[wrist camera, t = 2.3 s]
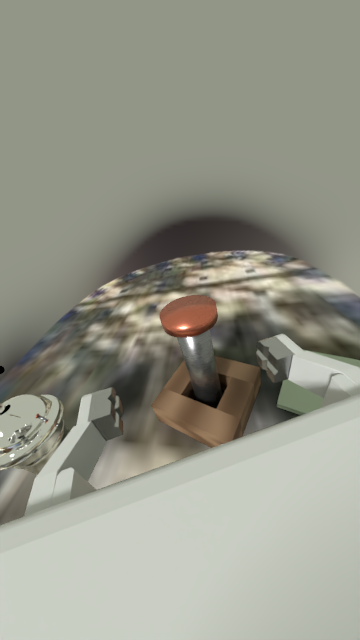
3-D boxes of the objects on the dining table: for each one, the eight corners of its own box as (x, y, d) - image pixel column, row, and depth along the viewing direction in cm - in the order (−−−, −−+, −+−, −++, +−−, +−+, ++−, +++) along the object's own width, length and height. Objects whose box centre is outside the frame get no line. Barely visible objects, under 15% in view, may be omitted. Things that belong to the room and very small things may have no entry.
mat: (383, 368, 30) (384, 364, 30) (394, 447, 23) (396, 443, 22) (291, 350, 37) (292, 347, 37) (276, 407, 30) (276, 403, 29)
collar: (260, 384, 33) (260, 367, 31) (234, 459, 25) (230, 443, 23) (195, 365, 40) (191, 349, 38) (158, 420, 32) (151, 405, 30)
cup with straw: (79, 425, 35) (-6, 332, 24) (112, 454, 29) (22, 352, 19) (29, 477, 30) (-110, 388, 19) (57, 523, 24) (-112, 438, 13)
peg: (237, 392, 33) (225, 297, 23) (221, 429, 29) (199, 331, 19) (201, 380, 36) (178, 293, 27) (183, 411, 32) (148, 321, 23)
